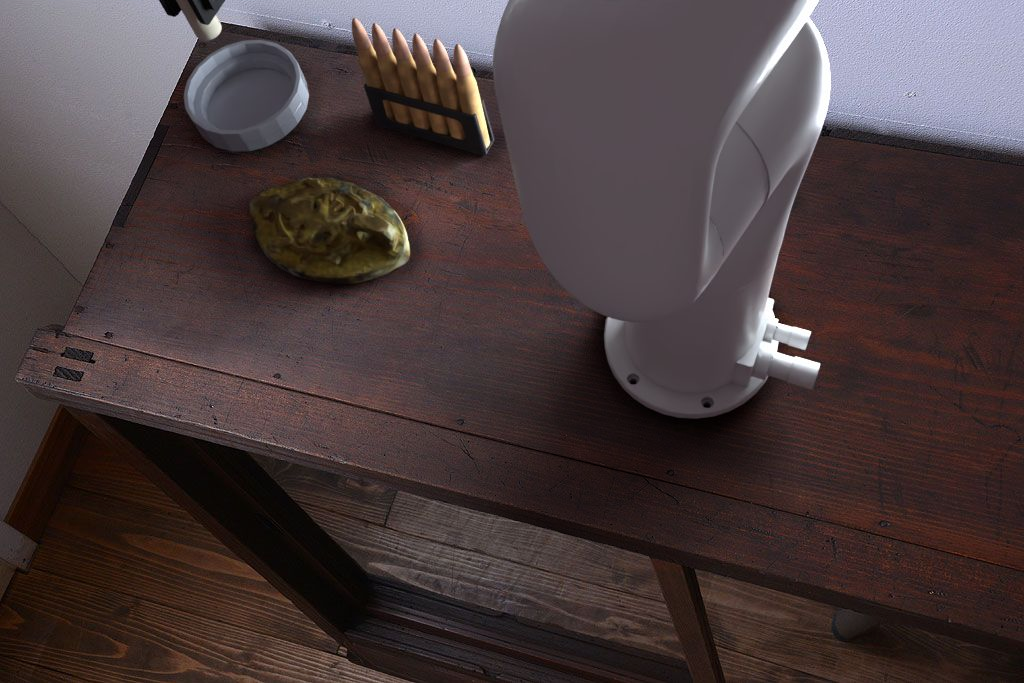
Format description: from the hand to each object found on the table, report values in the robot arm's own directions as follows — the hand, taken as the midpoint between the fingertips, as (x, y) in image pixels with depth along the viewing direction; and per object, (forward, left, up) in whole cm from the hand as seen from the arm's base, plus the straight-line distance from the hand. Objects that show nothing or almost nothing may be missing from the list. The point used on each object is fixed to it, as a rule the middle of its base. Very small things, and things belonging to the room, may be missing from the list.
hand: (197, 6), depth 76 cm
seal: (-13, +10, -12) cm, 21 cm away
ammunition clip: (-17, -2, -12) cm, 21 cm away
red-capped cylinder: (0, 0, -3) cm, 3 cm away
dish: (0, 0, -12) cm, 12 cm away
